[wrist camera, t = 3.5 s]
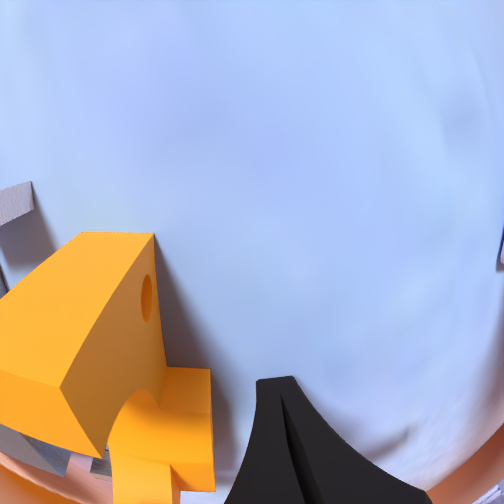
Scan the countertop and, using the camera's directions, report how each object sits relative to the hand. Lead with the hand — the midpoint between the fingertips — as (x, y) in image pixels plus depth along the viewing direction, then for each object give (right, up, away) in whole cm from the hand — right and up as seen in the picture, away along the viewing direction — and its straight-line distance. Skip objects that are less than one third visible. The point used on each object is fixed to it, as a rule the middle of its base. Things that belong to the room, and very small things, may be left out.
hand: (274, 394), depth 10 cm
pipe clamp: (-5, +1, +1) cm, 5 cm away
